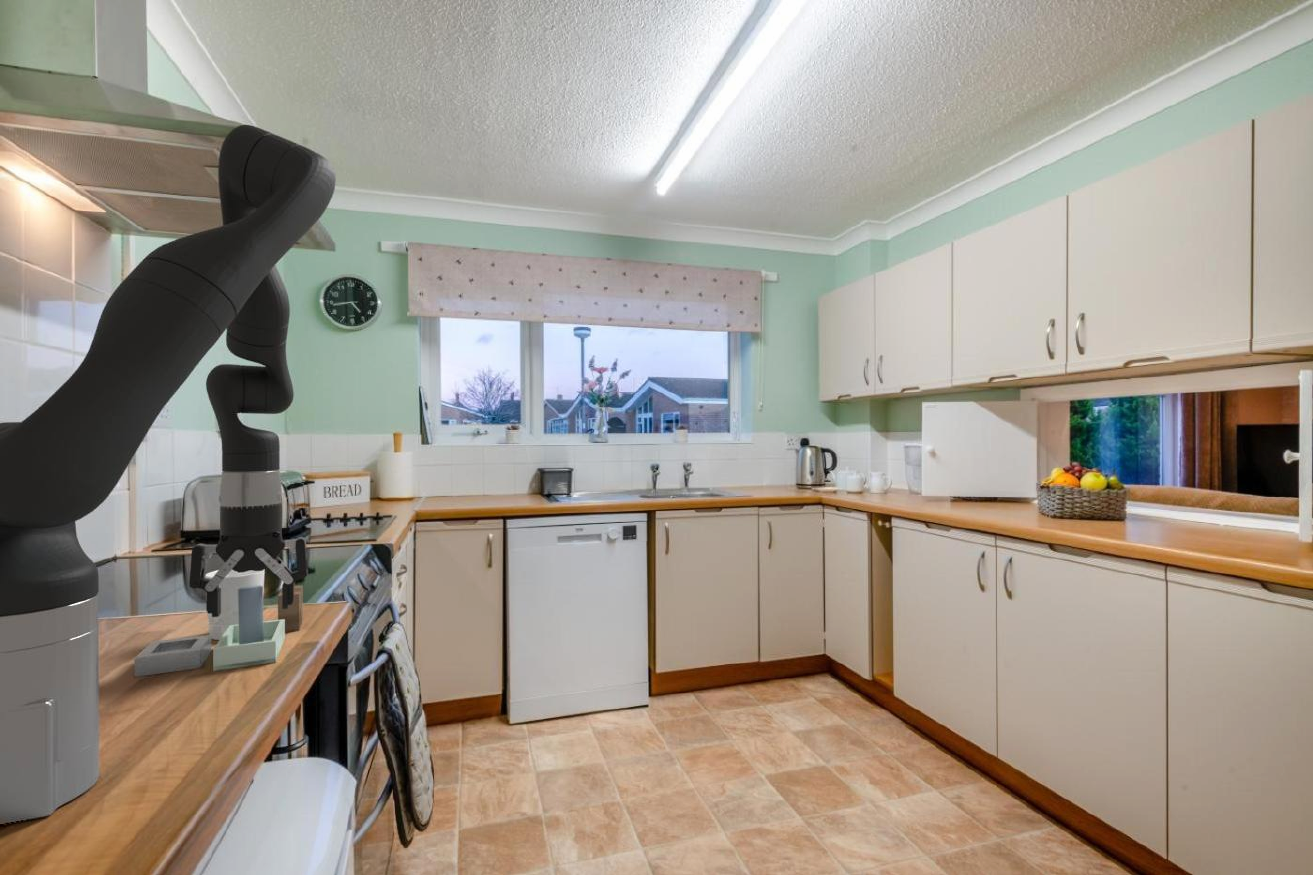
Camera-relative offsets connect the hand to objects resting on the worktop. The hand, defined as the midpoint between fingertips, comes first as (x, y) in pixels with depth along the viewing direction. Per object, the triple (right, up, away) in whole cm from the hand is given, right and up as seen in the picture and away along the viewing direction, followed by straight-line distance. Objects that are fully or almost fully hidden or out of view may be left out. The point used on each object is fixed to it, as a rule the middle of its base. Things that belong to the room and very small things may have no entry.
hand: (251, 611), depth 88 cm
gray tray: (-8, -6, -4) cm, 11 cm away
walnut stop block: (-2, -6, +12) cm, 14 cm away
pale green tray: (0, -6, 0) cm, 6 cm away
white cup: (-9, -6, +9) cm, 14 cm away
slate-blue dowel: (0, -6, 0) cm, 6 cm away
